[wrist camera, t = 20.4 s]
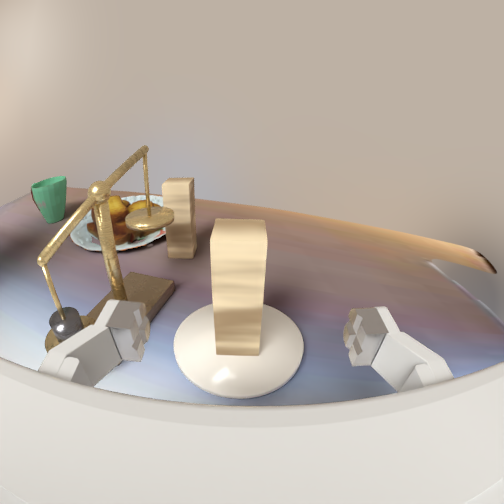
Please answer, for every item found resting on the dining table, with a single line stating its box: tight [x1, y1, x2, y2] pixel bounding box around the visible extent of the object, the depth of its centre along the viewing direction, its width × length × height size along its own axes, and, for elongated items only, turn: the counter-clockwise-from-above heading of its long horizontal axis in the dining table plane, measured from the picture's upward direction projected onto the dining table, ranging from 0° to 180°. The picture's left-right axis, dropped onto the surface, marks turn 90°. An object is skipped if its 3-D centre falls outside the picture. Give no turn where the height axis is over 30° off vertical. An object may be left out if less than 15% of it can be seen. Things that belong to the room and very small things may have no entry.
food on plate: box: [69, 195, 166, 251], centre depth 53 cm, size 25×25×7 cm
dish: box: [174, 304, 303, 399], centre depth 28 cm, size 13×13×2 cm
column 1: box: [162, 178, 197, 259], centre depth 43 cm, size 4×4×12 cm
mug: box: [31, 176, 66, 223], centre depth 56 cm, size 15×10×10 cm
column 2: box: [210, 219, 267, 356], centre depth 24 cm, size 4×4×12 cm
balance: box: [37, 145, 175, 365], centre depth 27 cm, size 24×7×19 cm, turn 167°
